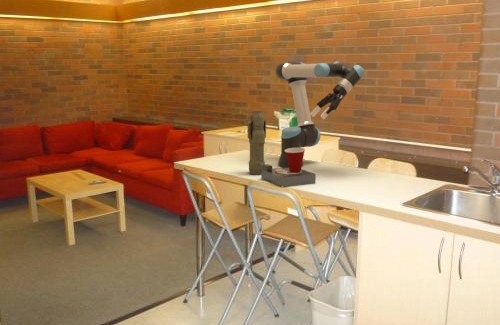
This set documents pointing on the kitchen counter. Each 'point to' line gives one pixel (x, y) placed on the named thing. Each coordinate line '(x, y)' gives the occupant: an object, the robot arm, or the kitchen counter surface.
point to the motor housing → (286, 176)
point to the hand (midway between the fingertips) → (316, 116)
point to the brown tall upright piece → (256, 142)
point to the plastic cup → (295, 159)
